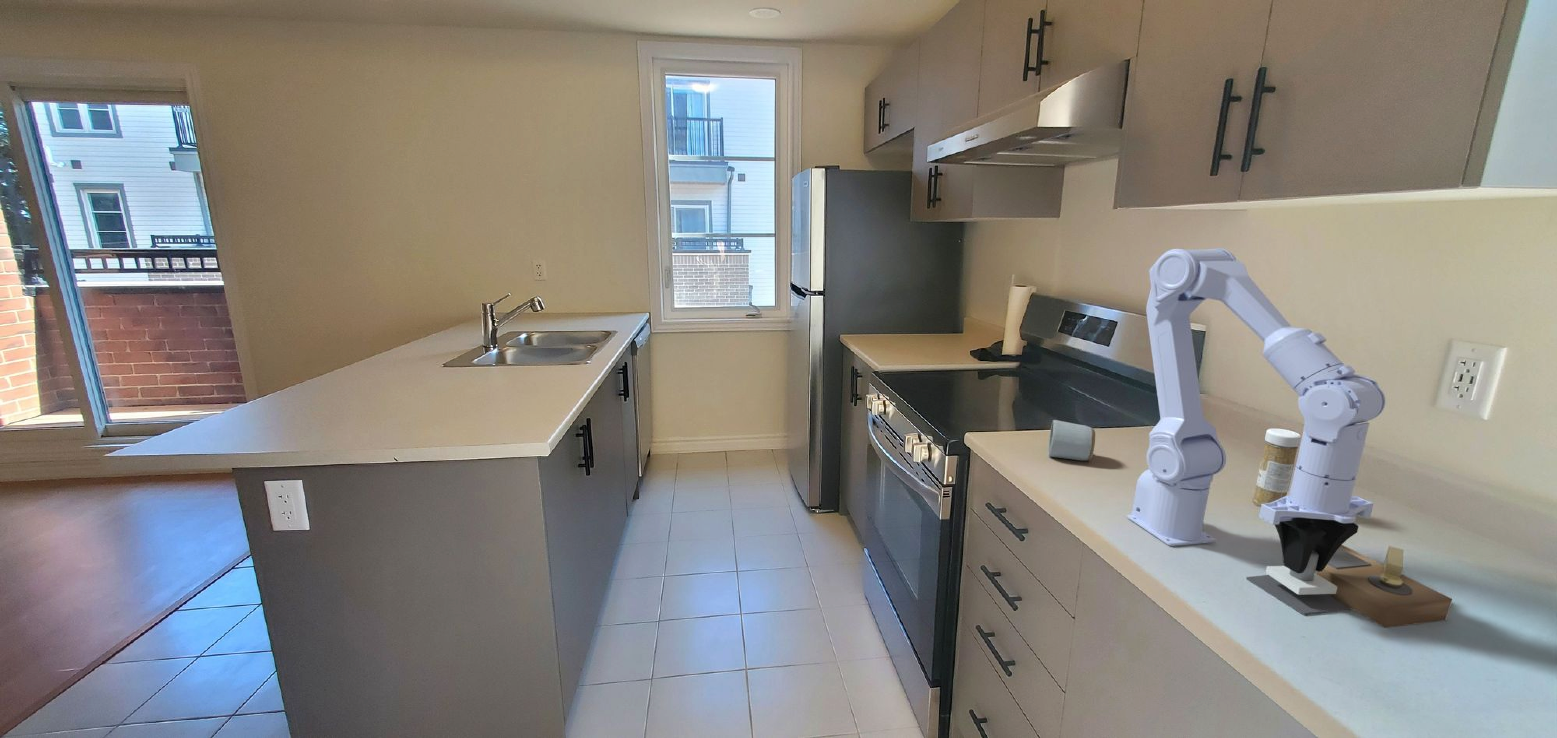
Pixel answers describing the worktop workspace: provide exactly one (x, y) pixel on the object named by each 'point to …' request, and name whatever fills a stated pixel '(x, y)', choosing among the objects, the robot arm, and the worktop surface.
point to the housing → (1382, 592)
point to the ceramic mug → (1071, 441)
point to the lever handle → (1392, 568)
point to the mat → (1299, 597)
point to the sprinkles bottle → (1276, 465)
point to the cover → (1303, 578)
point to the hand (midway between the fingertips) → (1302, 568)
